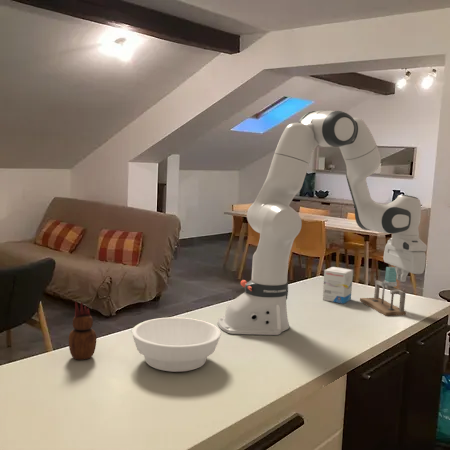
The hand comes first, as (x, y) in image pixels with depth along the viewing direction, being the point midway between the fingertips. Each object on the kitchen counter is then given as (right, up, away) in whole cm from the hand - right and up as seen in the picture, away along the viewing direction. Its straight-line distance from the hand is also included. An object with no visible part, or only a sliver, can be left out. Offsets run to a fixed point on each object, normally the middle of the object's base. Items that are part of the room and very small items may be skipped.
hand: (401, 280), depth 189 cm
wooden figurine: (-98, -14, -51) cm, 111 cm away
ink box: (-19, -9, +16) cm, 26 cm away
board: (-5, -11, +7) cm, 14 cm away
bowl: (-74, -16, -51) cm, 91 cm away
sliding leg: (-3, -9, +7) cm, 12 cm away
